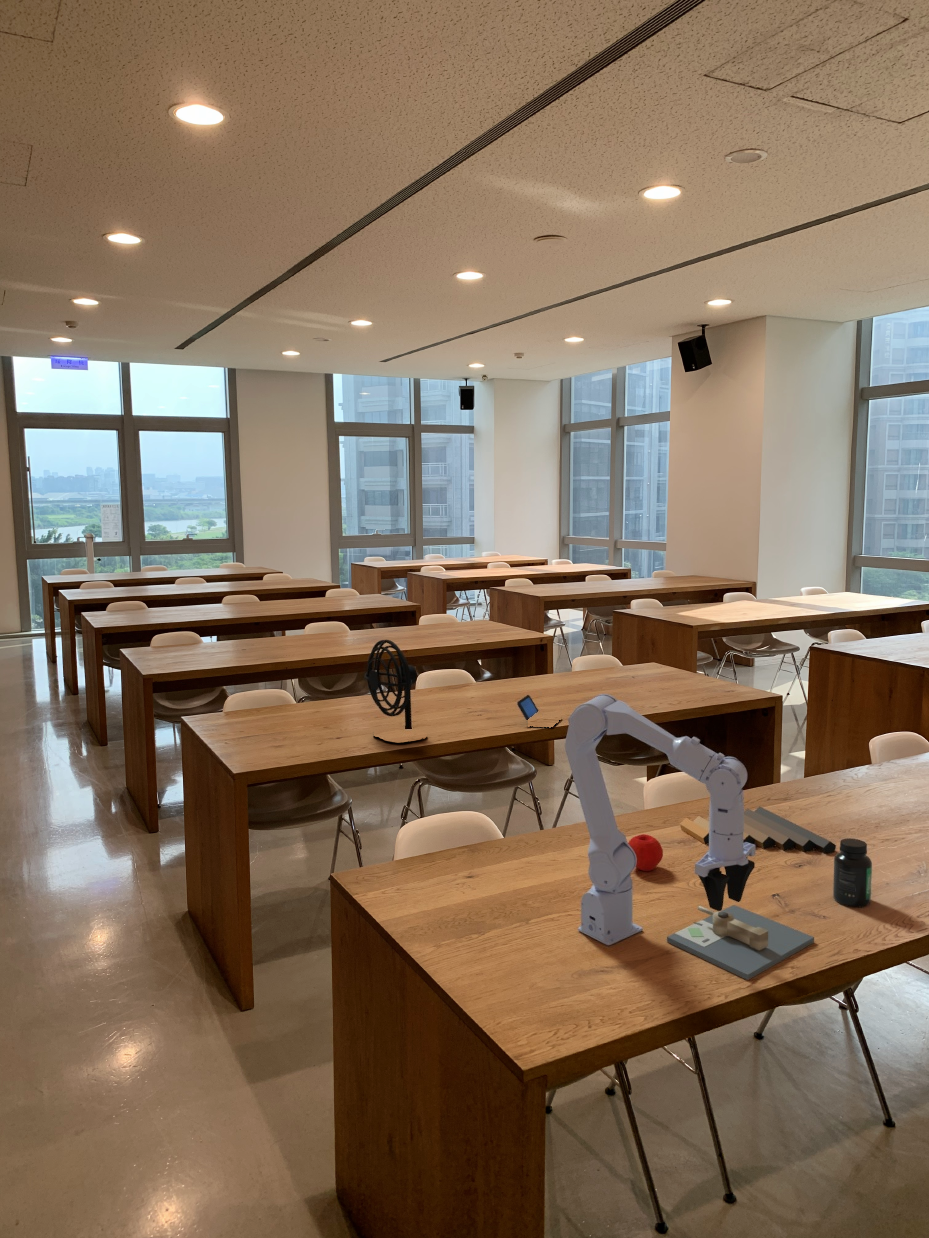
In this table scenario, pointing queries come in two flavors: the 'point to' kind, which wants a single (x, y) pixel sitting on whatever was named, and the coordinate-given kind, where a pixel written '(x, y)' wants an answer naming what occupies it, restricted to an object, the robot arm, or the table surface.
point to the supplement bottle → (852, 874)
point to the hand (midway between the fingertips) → (725, 904)
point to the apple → (646, 852)
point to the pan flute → (766, 832)
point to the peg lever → (737, 929)
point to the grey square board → (741, 944)
